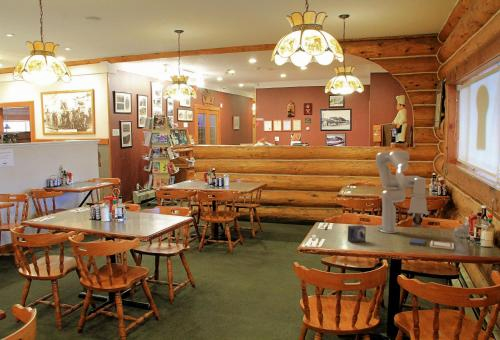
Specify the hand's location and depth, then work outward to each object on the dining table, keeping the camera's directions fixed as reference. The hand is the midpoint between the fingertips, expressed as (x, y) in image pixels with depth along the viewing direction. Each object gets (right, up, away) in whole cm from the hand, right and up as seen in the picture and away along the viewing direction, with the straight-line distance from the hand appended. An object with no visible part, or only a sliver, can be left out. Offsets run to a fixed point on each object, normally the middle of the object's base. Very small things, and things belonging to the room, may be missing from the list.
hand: (417, 222), depth 283 cm
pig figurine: (+39, -12, +17) cm, 44 cm away
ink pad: (0, -14, +1) cm, 14 cm away
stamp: (0, -3, 0) cm, 3 cm away
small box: (-40, -14, +5) cm, 42 cm away
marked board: (+14, -14, -6) cm, 21 cm away
